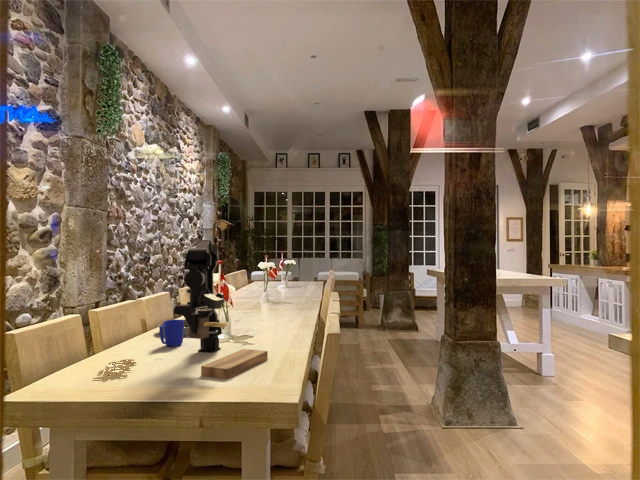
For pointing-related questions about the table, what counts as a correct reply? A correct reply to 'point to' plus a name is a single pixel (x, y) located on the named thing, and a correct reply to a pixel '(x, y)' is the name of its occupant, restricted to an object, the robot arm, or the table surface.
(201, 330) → the mallet
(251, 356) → the plank
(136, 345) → the table surface
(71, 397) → the table surface
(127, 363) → the lettering
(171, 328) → the mug
